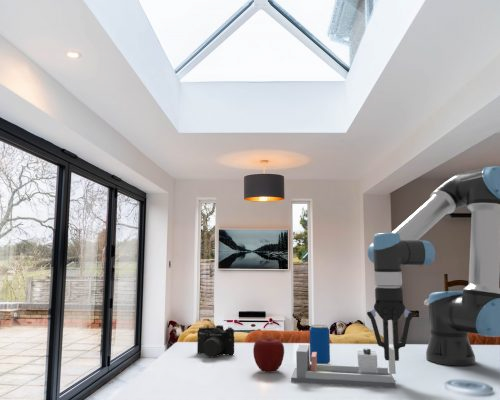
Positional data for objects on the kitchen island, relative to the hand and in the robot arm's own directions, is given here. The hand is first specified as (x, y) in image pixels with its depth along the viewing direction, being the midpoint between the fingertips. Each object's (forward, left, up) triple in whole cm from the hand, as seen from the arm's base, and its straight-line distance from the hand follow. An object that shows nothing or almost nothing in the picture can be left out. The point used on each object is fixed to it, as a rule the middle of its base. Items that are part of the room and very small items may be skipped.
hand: (392, 372), depth 122 cm
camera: (+59, -23, -3) cm, 63 cm away
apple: (+36, -5, -3) cm, 36 cm away
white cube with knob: (+7, 0, -1) cm, 7 cm away
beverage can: (+21, -18, -3) cm, 28 cm away
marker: (+22, 0, -1) cm, 22 cm away
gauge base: (+14, 0, -3) cm, 14 cm away
